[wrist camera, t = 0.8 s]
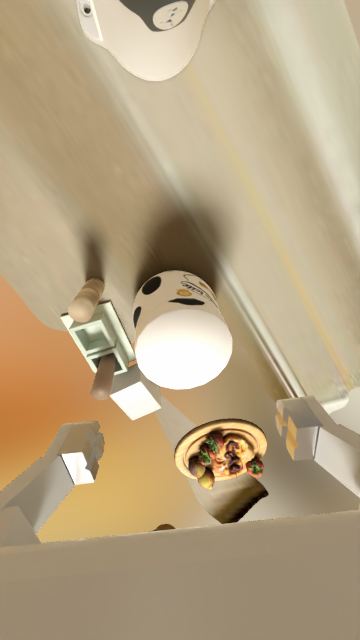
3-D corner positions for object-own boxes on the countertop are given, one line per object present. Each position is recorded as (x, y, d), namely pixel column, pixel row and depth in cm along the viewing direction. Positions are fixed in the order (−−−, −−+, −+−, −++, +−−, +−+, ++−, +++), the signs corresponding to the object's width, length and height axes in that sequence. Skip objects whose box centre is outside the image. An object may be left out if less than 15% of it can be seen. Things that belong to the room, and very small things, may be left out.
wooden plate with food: (282, 437, 81) (295, 461, 74) (220, 483, 90) (227, 508, 83) (219, 401, 69) (227, 425, 62) (155, 459, 79) (155, 485, 71)
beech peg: (82, 280, 46) (63, 305, 35) (99, 275, 46) (85, 299, 35) (90, 296, 48) (75, 325, 37) (107, 291, 48) (96, 318, 37)
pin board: (61, 316, 49) (36, 351, 38) (110, 301, 49) (99, 332, 38) (94, 370, 57) (81, 412, 46) (137, 357, 57) (134, 397, 46)
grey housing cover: (113, 374, 58) (109, 395, 52) (141, 361, 57) (140, 381, 51) (134, 398, 63) (132, 420, 57) (160, 386, 62) (161, 407, 56)
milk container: (220, 272, 49) (255, 309, 33) (201, 340, 57) (222, 396, 41) (138, 259, 45) (133, 293, 30) (130, 333, 53) (122, 392, 37)
